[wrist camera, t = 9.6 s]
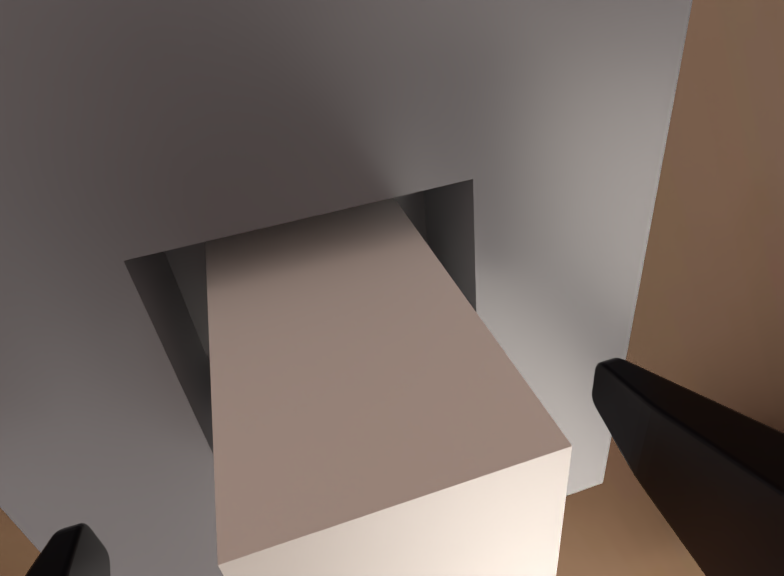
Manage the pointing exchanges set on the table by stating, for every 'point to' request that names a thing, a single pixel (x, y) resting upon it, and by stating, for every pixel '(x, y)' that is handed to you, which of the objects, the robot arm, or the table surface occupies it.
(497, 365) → the plug
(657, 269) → the table surface
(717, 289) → the table surface
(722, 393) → the table surface
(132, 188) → the socket block
